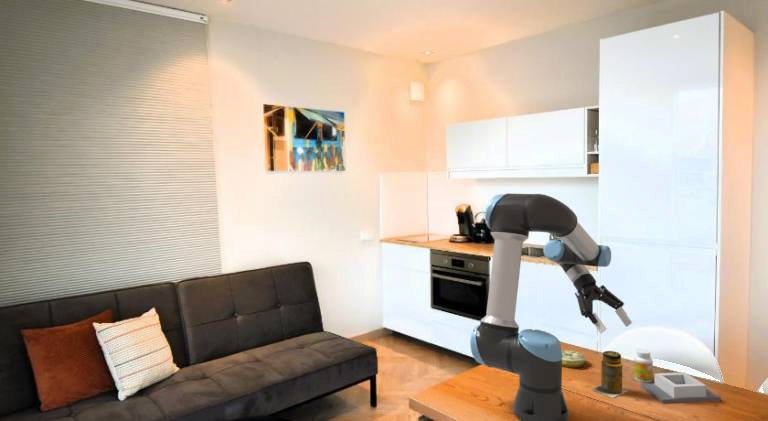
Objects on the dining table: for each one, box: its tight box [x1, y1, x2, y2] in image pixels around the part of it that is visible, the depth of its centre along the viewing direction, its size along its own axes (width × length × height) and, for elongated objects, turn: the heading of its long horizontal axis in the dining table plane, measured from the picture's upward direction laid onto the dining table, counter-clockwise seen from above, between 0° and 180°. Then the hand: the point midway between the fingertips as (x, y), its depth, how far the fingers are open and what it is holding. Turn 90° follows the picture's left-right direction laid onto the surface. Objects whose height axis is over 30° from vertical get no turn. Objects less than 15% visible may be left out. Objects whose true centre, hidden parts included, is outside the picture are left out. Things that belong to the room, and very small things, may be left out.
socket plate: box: [640, 371, 722, 404], centre depth 149 cm, size 18×11×4 cm, turn 92°
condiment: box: [591, 350, 629, 399], centre depth 152 cm, size 7×8×12 cm
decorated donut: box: [561, 349, 587, 369], centre depth 175 cm, size 10×11×4 cm
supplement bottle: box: [633, 348, 654, 384], centre depth 159 cm, size 5×5×10 cm
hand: (616, 327), depth 168 cm, fingers open, 13 cm apart
